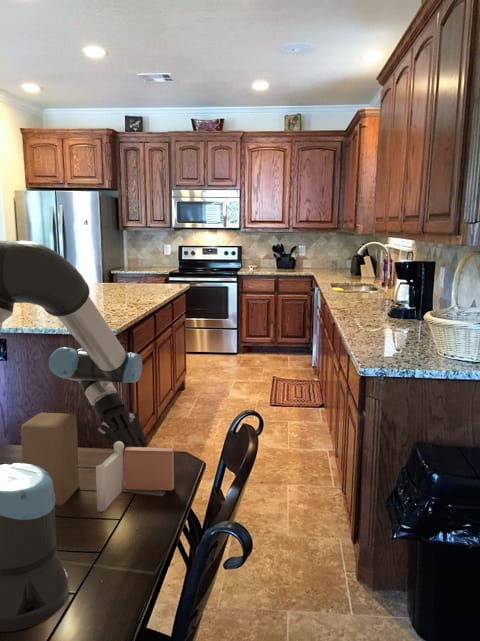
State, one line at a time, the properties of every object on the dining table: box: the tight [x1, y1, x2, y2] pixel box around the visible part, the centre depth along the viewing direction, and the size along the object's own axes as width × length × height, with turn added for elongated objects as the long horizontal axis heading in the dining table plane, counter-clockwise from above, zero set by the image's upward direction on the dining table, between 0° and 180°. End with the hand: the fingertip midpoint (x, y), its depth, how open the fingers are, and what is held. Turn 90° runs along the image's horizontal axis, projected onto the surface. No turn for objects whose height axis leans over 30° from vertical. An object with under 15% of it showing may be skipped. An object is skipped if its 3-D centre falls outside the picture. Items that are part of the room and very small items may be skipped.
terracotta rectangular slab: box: [124, 446, 175, 491], centre depth 125 cm, size 12×2×10 cm, turn 88°
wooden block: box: [20, 412, 80, 506], centre depth 121 cm, size 10×10×20 cm
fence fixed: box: [95, 441, 125, 512], centre depth 120 cm, size 12×3×13 cm, turn 169°
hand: (149, 474), depth 127 cm, fingers closed
